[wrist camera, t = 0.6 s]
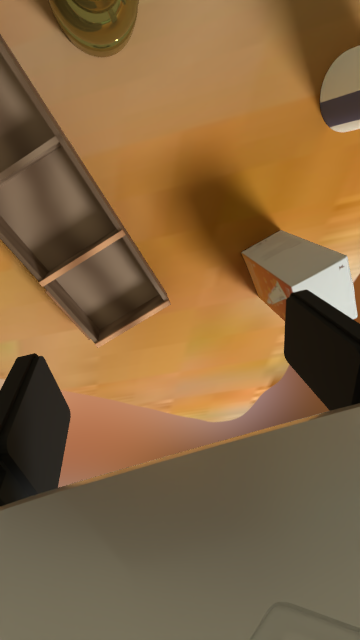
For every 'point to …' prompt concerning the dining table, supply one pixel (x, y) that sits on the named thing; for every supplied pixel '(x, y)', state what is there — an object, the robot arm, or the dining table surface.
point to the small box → (299, 272)
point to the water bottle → (342, 92)
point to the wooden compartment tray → (66, 219)
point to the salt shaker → (96, 23)
